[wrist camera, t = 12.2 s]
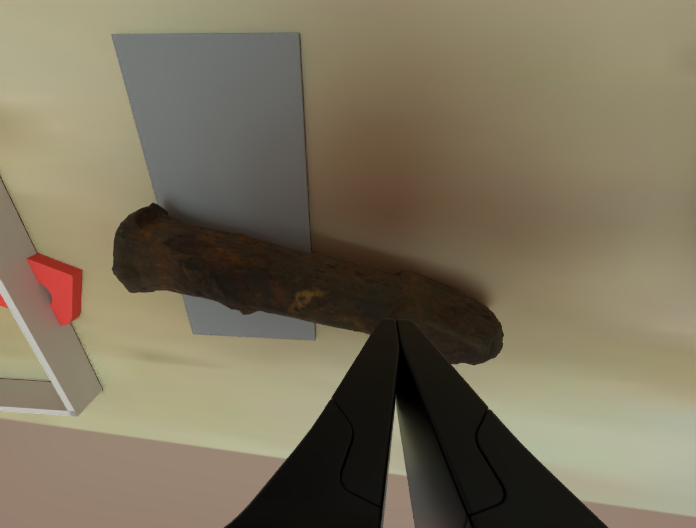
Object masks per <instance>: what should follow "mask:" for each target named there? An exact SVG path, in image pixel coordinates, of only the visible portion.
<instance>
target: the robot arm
mask: <svg viewBox="0 0 696 528" xmlns="http://www.w3.org/2000/svg"><path fill="white" fill-rule="evenodd" d="M395 401H396V406H397V414H398V420H399V427H400V433H401V440H402V446H403V453H404V460H405V466H406V473H407V479H408V485H409V492H410V498H411V505H412V512H413V518H414V525H415V528H608V527H607V526H606V525H605V524H604V523H603V522H602V521H601V520H600V519H599V518H598V517H597V516H596V515H595V514H594V513H593V512H591V510H589V509H588V508H587V507H586V506H585V505H584V504H583V503H582V502H581V501H580V500H579V499H578V498H577V497H576V496H575V495H574V494H573V493H572V492H571V491H570V490H569V489H568V488H566V487H565V486H564V485H563V484H562V483H561V482H560V481H559V480H558V479H557V478H556V477H555V476H554V475H553V474H552V473H551V472H550V471H549V470H548V469H547V468H546V467H545V466H544V465H543V464H542V463H541V462H540V461H539V460H538V459H537V458H536V457H535V456H533V455H532V454H531V453H530V452H529V451H528V450H527V449H526V448H525V447H524V446H523V445H522V444H521V443H520V441H519V440H518V439H517V438H516V437H515V436H514V435H513V434H512V433H511V432H510V431H509V430H508V428H507V427H506V426H505V425H504V424H503V423H502V422H501V421H500V420H499V418H498V417H497V416H496V415H495V414H494V413H493V412H492V410H490V409H489V408H488V406H487V405H486V404H485V403H484V402H483V400H482V399H481V398H480V397H479V396H478V395H477V394H476V392H475V391H474V390H473V389H472V388H471V387H470V386H469V384H468V383H467V382H466V381H465V380H464V379H463V378H462V376H461V375H460V374H459V373H458V372H457V371H456V370H455V368H454V367H453V366H452V365H451V364H450V363H449V362H448V360H447V359H446V358H445V357H444V356H443V355H442V354H441V352H440V351H439V350H438V349H437V348H436V347H435V346H434V344H433V343H432V342H431V341H430V340H429V339H428V338H427V336H426V335H425V334H424V333H423V332H422V331H421V330H420V328H419V327H418V326H417V325H416V324H415V323H414V322H413V321H412V320H408V319H398V320H397V321H396V320H395V319H385V318H383V319H381V320H380V321H379V323H378V324H377V326H376V327H375V329H374V331H373V332H372V334H371V335H370V337H369V339H368V340H367V342H366V343H365V345H364V347H363V348H362V350H361V351H360V353H359V355H358V356H357V358H356V359H355V361H354V363H353V364H352V366H351V367H350V369H349V371H348V372H347V374H346V375H345V377H344V378H343V380H342V382H341V383H340V385H339V386H338V388H337V390H336V391H335V393H334V394H333V396H332V398H331V400H330V401H329V402H328V404H327V405H326V407H325V409H324V410H323V412H322V413H321V415H320V416H319V418H318V419H317V421H316V422H315V423H314V425H313V426H312V428H311V429H310V431H309V432H308V433H307V434H306V436H305V437H304V438H303V440H302V441H301V442H300V443H299V445H298V446H297V447H296V448H295V450H294V451H293V452H292V453H291V454H290V456H289V457H288V458H287V459H286V461H285V462H284V463H283V464H282V465H281V467H280V468H279V469H278V470H277V471H276V473H275V474H274V475H273V476H272V478H271V479H270V480H269V481H268V482H267V484H266V485H265V486H264V487H263V488H262V490H261V491H260V492H259V493H258V494H257V495H256V497H255V498H254V499H253V500H252V501H251V502H250V504H249V505H248V506H247V507H246V508H245V509H244V510H243V511H242V512H241V513H240V514H239V515H238V516H237V517H236V518H235V519H234V520H233V521H232V522H230V523H229V524H228V525H226V526H225V527H224V528H383V521H384V511H385V501H386V491H387V480H388V471H389V461H390V451H391V441H392V431H393V421H394V412H395ZM488 409H489V410H488Z"/></svg>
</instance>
